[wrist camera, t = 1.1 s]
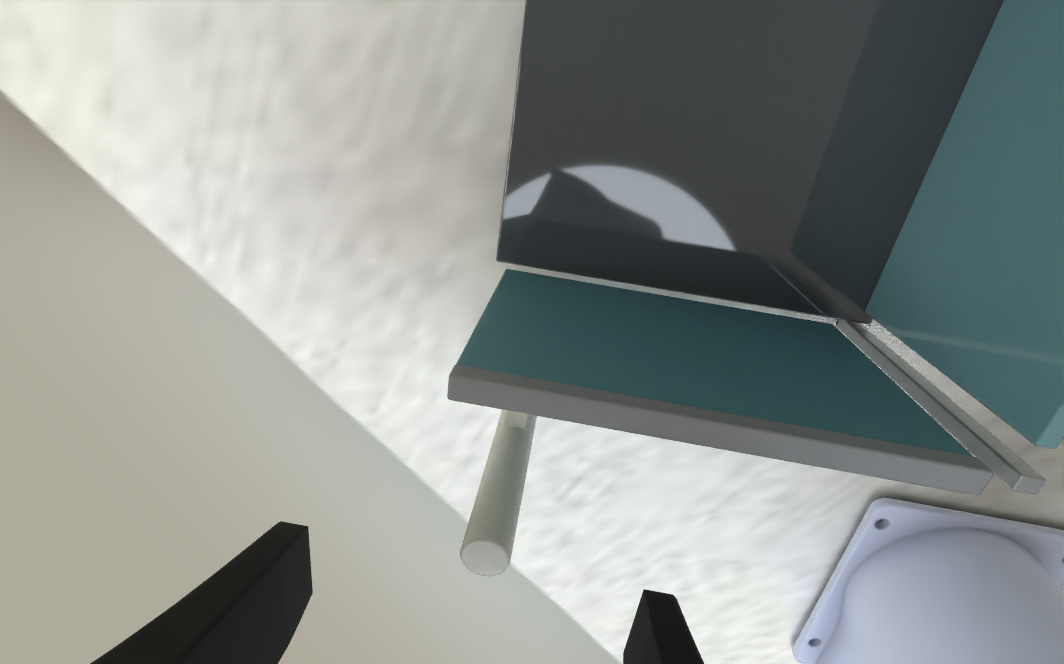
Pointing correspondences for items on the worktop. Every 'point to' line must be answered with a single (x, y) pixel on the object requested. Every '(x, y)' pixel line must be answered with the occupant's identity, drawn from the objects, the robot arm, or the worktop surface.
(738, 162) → the teal open box
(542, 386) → the teal shelf
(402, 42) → the worktop surface
